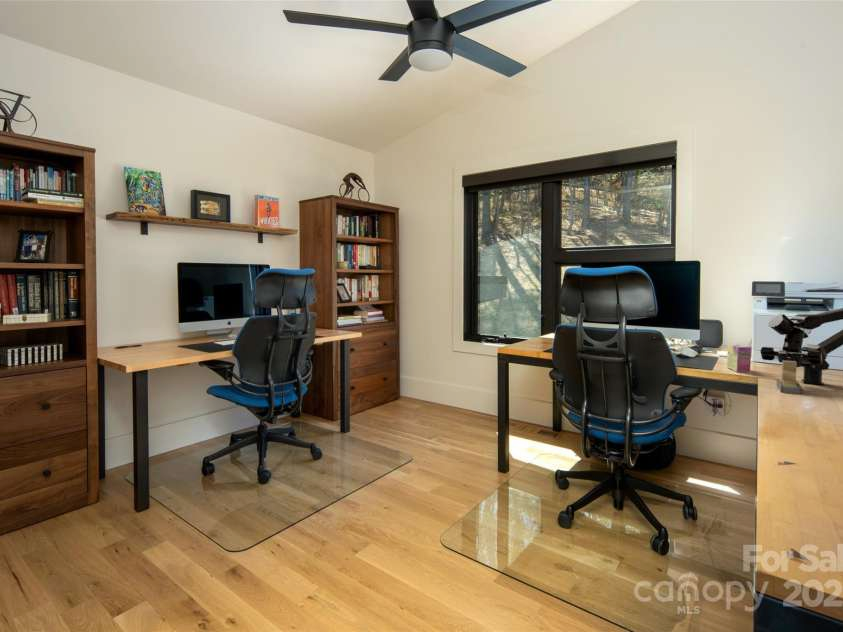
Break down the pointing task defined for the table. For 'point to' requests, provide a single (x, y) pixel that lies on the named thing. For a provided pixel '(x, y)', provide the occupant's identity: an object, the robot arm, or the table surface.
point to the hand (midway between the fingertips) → (786, 372)
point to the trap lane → (789, 388)
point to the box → (739, 357)
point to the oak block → (789, 373)
